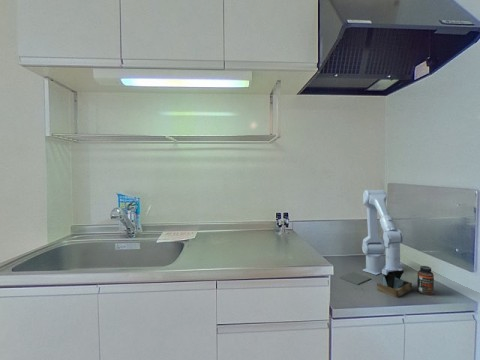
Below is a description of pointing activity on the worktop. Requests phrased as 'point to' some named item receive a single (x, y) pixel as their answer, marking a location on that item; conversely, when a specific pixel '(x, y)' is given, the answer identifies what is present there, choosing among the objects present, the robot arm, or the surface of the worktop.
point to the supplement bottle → (425, 281)
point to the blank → (397, 283)
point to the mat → (355, 278)
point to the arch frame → (395, 292)
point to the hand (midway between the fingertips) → (393, 286)
